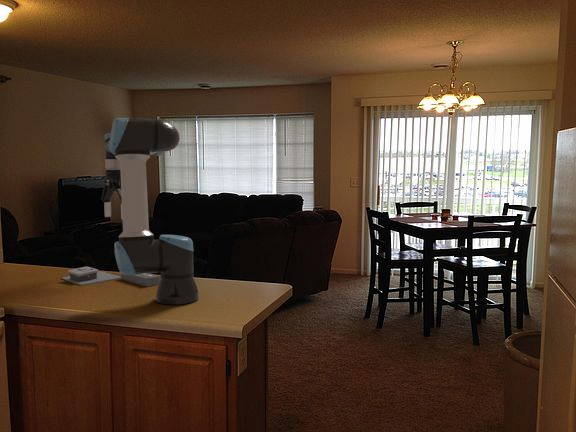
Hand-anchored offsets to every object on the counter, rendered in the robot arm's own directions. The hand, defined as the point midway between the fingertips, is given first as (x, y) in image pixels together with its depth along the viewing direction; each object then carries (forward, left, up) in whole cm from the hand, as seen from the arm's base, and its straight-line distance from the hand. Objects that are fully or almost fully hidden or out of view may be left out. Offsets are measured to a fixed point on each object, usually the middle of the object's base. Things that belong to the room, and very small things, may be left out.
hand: (116, 217), depth 222 cm
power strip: (-20, +1, -25) cm, 32 cm away
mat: (0, +12, -25) cm, 28 cm away
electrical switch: (+1, +11, -25) cm, 28 cm away
